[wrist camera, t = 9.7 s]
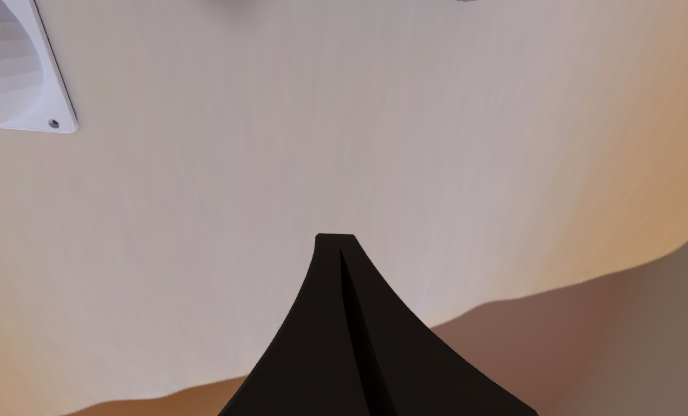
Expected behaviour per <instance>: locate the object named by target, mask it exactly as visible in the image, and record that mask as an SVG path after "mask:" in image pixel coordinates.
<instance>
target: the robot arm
mask: <svg viewBox="0 0 688 416" xmlns="http://www.w3.org/2000/svg"><path fill="white" fill-rule="evenodd" d="M53 120H55V121H57V122H58V124H59V126H57V125H56V124H55V123H54V122H53ZM0 128H6V129H19V130H32V131H45V132H58V133H72V132H74V131H76V130H77V129H78V123H77V120H76V117H75V114H74V111H73V109H72V106H71V103H70V100H69V98H68V95H67V92H66V89H65V86H64V84H63V81H62V78H61V75H60V72H59V70H58V67H57V64H56V61H55V59H54V56H53V53H52V50H51V47H50V45H49V42H48V39H47V36H46V34H45V31H44V28H43V25H42V22H41V20H40V17H39V14H38V11H37V8H36V6H35V3H34V0H0ZM218 416H538V414H537V412H536V411H535V410H534V409H532V408H531V407H529V406H528V405H526V404H525V403H523V402H522V401H520V400H519V399H518V398H516V397H515V396H513V395H512V394H511V393H509V392H508V391H506V390H505V389H503V388H502V387H501V386H499V385H498V384H496V383H495V382H493V381H492V380H490V379H489V378H488V377H486V376H485V375H484V374H483V373H481V372H480V371H479V370H477V369H476V368H475V367H474V366H472V365H471V364H470V363H468V362H467V361H466V360H465V359H463V358H462V357H461V356H460V355H458V354H457V353H456V352H455V351H454V350H453V349H451V348H450V347H449V346H448V345H447V344H446V343H445V342H443V341H442V340H441V339H440V338H439V337H438V336H436V335H435V334H434V333H433V332H432V331H431V330H430V329H429V328H428V327H427V326H426V325H425V324H424V323H423V322H422V321H421V320H420V319H419V318H418V317H417V316H416V315H415V314H414V313H413V312H412V311H411V310H410V309H409V308H408V307H407V306H406V305H405V303H404V302H403V301H402V300H401V299H400V298H399V297H398V295H397V294H396V293H395V292H394V291H393V289H392V288H391V287H390V286H389V285H388V283H387V282H386V281H385V279H384V278H383V277H382V275H381V274H380V273H379V271H378V270H377V269H376V267H375V266H374V265H373V263H372V262H371V260H370V259H369V257H368V256H367V254H366V253H365V251H364V250H363V248H362V247H361V245H360V244H359V242H358V240H357V239H356V237H355V236H354V235H353V234H324V233H319V234H317V235H316V237H315V248H314V253H313V257H312V261H311V263H310V266H309V269H308V272H307V275H306V277H305V280H304V282H303V284H302V286H301V289H300V291H299V293H298V295H297V298H296V300H295V302H294V304H293V306H292V307H291V309H290V311H289V313H288V315H287V317H286V318H285V320H284V322H283V324H282V325H281V327H280V329H279V330H278V332H277V334H276V335H275V337H274V339H273V340H272V342H271V343H270V345H269V347H268V348H267V350H266V351H265V353H264V354H263V356H262V357H261V358H260V360H259V361H258V363H257V364H256V365H255V367H254V368H253V370H252V371H251V373H250V374H249V376H248V377H247V378H246V380H245V381H244V383H243V384H242V385H241V387H240V388H239V389H238V391H237V392H236V393H235V394H234V396H233V397H232V398H231V399H230V401H229V402H228V403H227V405H226V406H225V407H224V408H223V409H222V411H221V412H220V413H219V414H218Z"/></svg>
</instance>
